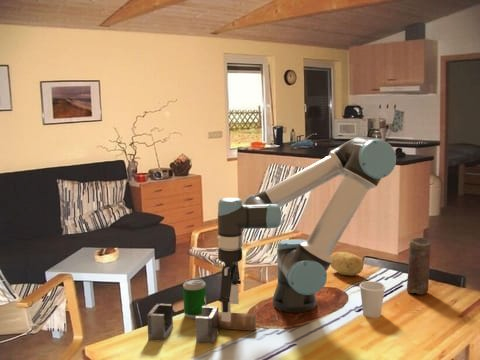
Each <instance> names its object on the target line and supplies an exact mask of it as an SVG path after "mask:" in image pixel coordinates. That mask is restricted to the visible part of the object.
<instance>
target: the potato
mask: <svg viewBox="0 0 480 360" xmlns="http://www.w3.org/2000/svg"><path fill="white" fill-rule="evenodd" d="M331 260H332V262H331V264H330V267H331V268H332V270H334V271H336V272H337V273H338V274H339V275H341V276H351V277H353V276H356V275H358V274H361V272H362V271H363V270H364V265H365V264H364V261H363V259H362V258H361V257H360V256H358V255H356V254H354V253H351V252H347V251H336V252H332V253H331Z"/></svg>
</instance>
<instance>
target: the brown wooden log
mask: <svg viewBox="0 0 480 360" xmlns="http://www.w3.org/2000/svg"><path fill="white" fill-rule="evenodd" d="M218 315H219V329H223V330H224V329H225V330H239V331H240V330H241V331H255V329H256V326H257V325H256V324H257V314H256V313H246V312H245V313H243V312H231V321H230V322H227V321H221V311H218Z"/></svg>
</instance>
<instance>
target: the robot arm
mask: <svg viewBox="0 0 480 360" xmlns="http://www.w3.org/2000/svg"><path fill="white" fill-rule="evenodd" d="M396 163H397V155H396V152H395V149H394V147H393V146H392V145H391V144H390V143H388V142H387V141H385V140H384V139H381V138H376V137H369V136H364V135H363V136H362V135H361V136H357V137H356V136H355V137H354V138H352V139H350V140H348V141H346V142H344V143H342V144H341V145H338V146H337V147H335V148H334V149H332V150H330V151H329V153H328V155H327V156H325V157H324V158H322V159H320V160H318V161H316V162H314V163H313V164H311V165H309V166H307V167H305V168H304V169H302V170H299V171H298V172H296V173H294V174H293V175H291V176H289V177H287V178H286V179H284V180H282V181H279V182H278V183H276V184H274V185H272V186H271V187H269V188H267V189H265V190H264V191H261V192H259V193H258V194H249V196H247V197H246V198H245V199H244V202H243V200H242V199H241V198H239V197H223V198H220V199H219V201H218V204H217V205H218V206H217V235H218V236H216V240H218V243H217V244H218V246H217V247H219V248H217V250H218V251H217V253H218V255H217V257H218V261H220V262H222V263H224V265H223V266H222V269H221V282H220V283H221V284H220V292H219V293H220V294H219V295H220V296H219V298H218V302H220V303H221V306H220V307H221V308H220V310H221V311H220V312H221V321H227V322H230V321H231V313H232V310H231V308H232V307H231V305H239V299H240V298H239V292H240V291H239V285H241V283H242V281H241V280H240V279H241V278H240V277H241V276H240V271H239V270H240V268H239V262H240V261H241V260H242V259H243V248H242V247H243V229H246V230H249V229H251V230H252V229H253V230H255V229H256V230H257V229H268V230H269V229H277V228H279V227H280V225H281V223H282V211H281V210H282V209H281V207H284V206H285V205H287V204H289V203H290V202H293V201H295V200H297V199H298V198H300V197H301V196H303V195H306V194H307V193H309V192H311V191H313V190H315V189H316V188H318V187H320V186H322V185H324V184H326V183H328V182H330V181H331V180H333V179H335V178H337V177H338V176H341V177H343V178H342V180H341V182H340V184H339V185H338V187H337V189H336V190H335V192H334V194H333V196H332V197H331V198H330V200H329V202H328V204H327V205H326V207H325V209H324V211H323V213H322V214H321V216H320V217H319V219H318V221H317V222H316V224H315V226H314V228H313V230H312V231H311V233H310V235H309V236H308V238H307V239H296V238H295V239H293V238H292V239H285V240H280V241H279V242H277V247H276V252H277V258H276V259H277V284H276V288H275V291H274V293H273V297H272V305H273V304H274V305H273V307H274V306H275V307H277V308H278V309H277V308H276V309H277V310H279V309H280V310H279V311H281V310H282V311H281V312H287V313H292V314H293V313H295V314H297V313H299V314H300V313H306V312H309V311H312V310H314V309H315V308H316V307H317V296H316V294H317V293H319V292H320V291H322V289H323V288H324V287H325V285H326V284H327V279H328V275H327V274H328V273H327V271H328V269H329V268H330V267H331V262H332V260H331V255H332V254H333V251H334V249H335V248H336V246H337V244H338V243H339V241H340V239H341V238H342V236H343V235H344V232H345V231H346V229H347V227H348V226H349V224H350V222H351V220H352V219H353V217H354V215H355V213H356V212H357V210H358V208H359V207H360V205H361V204H362V202H363V200H364V199H365V197H366V196H367V193H368V192H369V191H370V190H372V189H374V188H377V186H378V184H380V181H381V180H382V179H383V178H386V177H388V176H389V175H390V174H391V173H393V170H394V169H395V167H396ZM315 306H316V307H315ZM275 307H274V308H275ZM314 307H315V308H314ZM313 308H314V309H313Z"/></svg>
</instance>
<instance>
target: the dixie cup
mask: <svg viewBox="0 0 480 360" xmlns="http://www.w3.org/2000/svg"><path fill="white" fill-rule="evenodd" d="M359 288H360V289H359V290H360V297H361V307H362V315H363V316H364V317H367V318H371V319H375V318H380V317H381V315H382V308H383V301H384V295H385V289H386V288H387V287H386V285H385V284H384V283H382V282H379V281H374V280H373V281H372V280H369V281H367V280H365V281H362V282H361V283H359Z"/></svg>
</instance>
